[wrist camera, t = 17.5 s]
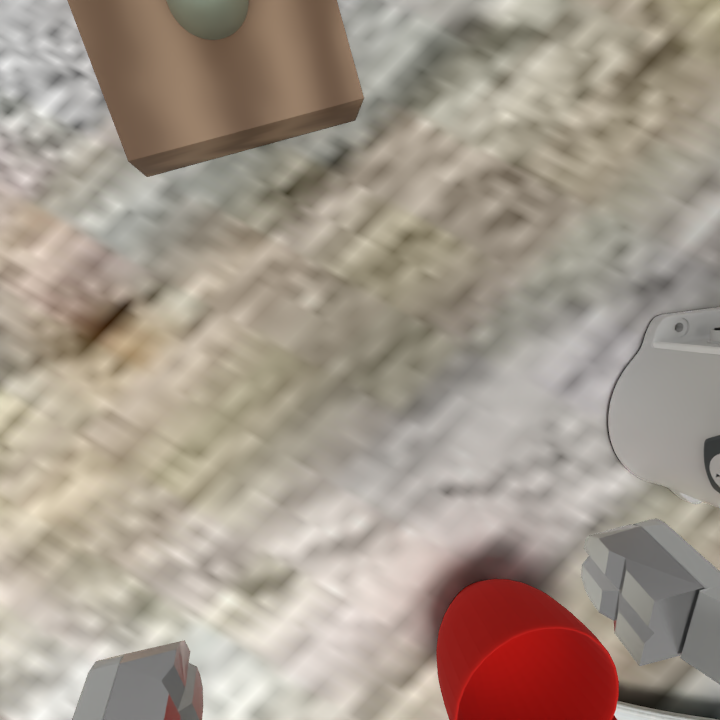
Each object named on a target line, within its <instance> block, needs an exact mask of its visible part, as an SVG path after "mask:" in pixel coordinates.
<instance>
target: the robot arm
mask: <svg viewBox="0 0 720 720" xmlns="http://www.w3.org/2000/svg"><path fill="white" fill-rule="evenodd" d="M675 325H677V327H676V330H675ZM608 427H609V435H610V439H611V443H612V446H613V449H614V451H615V453H616V455H617V457H618V458H619V460H620V461H621V463H622V464H623V465H624V466H625V468H626V469H627V470H629V471H630V472H631V473H632V474H633V475H635V476H637V477H638V478H640V479H642V480H645V481H647V482H650V483H655V484H658V485H661V486H665V487H667V488H669V489H670V490H671V491H672V492H673V493H674V494H675V495H676V496H678V497H679V498H681V499H682V500H685V501H687V502H690V503H693V504H699V503H701V502H705V503H708V504H710V505H713V506H715V507H718V508H720V307H715V308H708V309H700V310H692V311H684V312H676V313H669V314H661V315H658V316H656V317H655V318H654V319H653V320H652V321H651V323H650V325H649V327H648V329H647V331H646V334H645V337H644V340H643V343H642V346H641V348H640V350H639V352H638V353H637V354H636V356H635V357H634V358H633V359H632V361H631V362H630V363H629V364H628V366H627V367H626V368H625V370H624V371H623V373H622V375H621V376H620V378H619V380H618V382H617V384H616V386H615V389H614V392H613V395H612V398H611V402H610V407H609V415H608ZM584 550H585V551H586V552H587V553H588V555H589V556H588V558H587V559H586V560H585V562H584V563H583V564H582V572H581V578H582V581H583V584H584V588H585V591H586V593H587V595H588V597H589V598H590V600H591V602H592V603H593V605H594V606H595V607H596V609H597V610H598V612H599V613H601V614H603V615H605V616H606V617H608V618H610V619H612V620H614V631H615V634H616V636H617V637H618V638H619V640H620V641H621V642H622V644H623V645H624V646H625V648H626V649H627V650H628V652H629V653H630V654H631V656H632V657H633V658H634V660H635V661H636V662H637V663H638V665H639V666H642V665H646V664H649V663H653V662H657V661H661V660H664V659H668V658H672V657H676V656H679V655H681V657H680V658H681V659H683V660H684V661H686V662H687V663H689V664H690V665H692V666H693V667H695V668H696V669H698V670H699V671H701V672H702V673H704V674H705V675H707V676H708V677H710V678H711V679H713V680H714V681H716V682H717V683H719V684H720V571H719V570H718V569H716V568H715V567H714V566H713V565H712V564H711V563H710V562H709V561H707V560H706V559H705V558H704V557H703V556H702V555H701V554H700V553H698V552H697V551H696V550H695V549H694V548H693V547H692V546H691V545H689V544H688V543H687V542H686V541H685V540H684V539H683V538H682V537H680V536H679V535H678V534H677V533H676V532H675V531H674V530H673V529H671V528H670V527H669V526H668V525H667V524H666V523H665V522H663V521H661V520H659V519H657V518H656V519H651V520H647V521H643V522H640V523H636V524H633V525H631V524H629V525H626V526H622V527H618V528H615V529H611V530H607V531H604V532H600V533H596V534H593V535H589V536H588V538H587V539H586V540H585V546H584ZM189 657H190V650H189V648H188V646H187V644H186V642H185V640H184V641H180V642H176V643H171V644H167V645H163V646H158V647H154V648H150V649H145V650H141V651H137V652H132V653H128V654H123V655H119V656H115V657H111V658H107V659H103V660H99V661H96V662H95V664H94V665H93V667H92V668H91V670H90V671H89V673H88V675H87V678H86V681H85V684H84V687H83V689H82V692H81V695H80V698H79V701H78V704H77V707H76V710H75V713H74V716H73V718H72V720H202V713H203V687H202V682H201V677H200V673H199V671H198V669H197V667H196V666H194V665H192V664H190V663H189Z"/></svg>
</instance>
